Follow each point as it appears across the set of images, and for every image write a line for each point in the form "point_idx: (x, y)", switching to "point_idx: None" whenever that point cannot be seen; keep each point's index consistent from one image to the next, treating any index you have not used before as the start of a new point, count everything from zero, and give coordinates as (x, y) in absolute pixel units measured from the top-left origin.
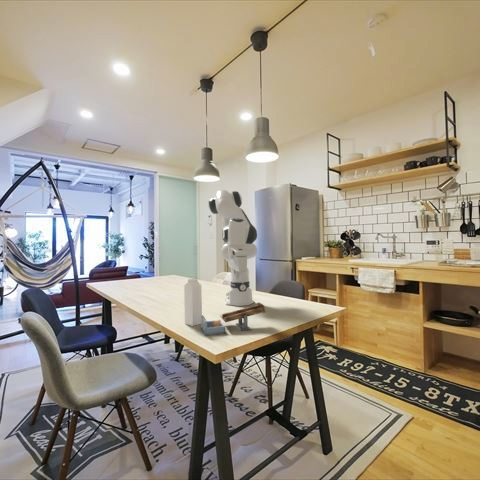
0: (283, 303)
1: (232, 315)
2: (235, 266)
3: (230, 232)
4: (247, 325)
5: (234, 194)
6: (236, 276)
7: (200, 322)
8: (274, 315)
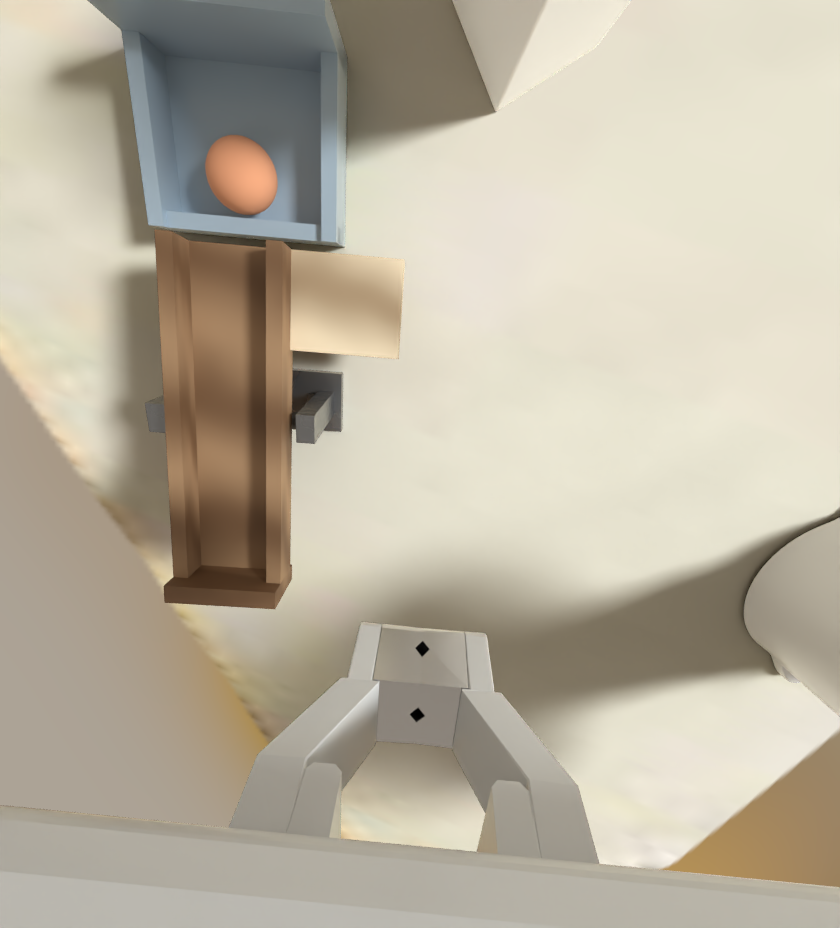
0: (635, 780)
1: (168, 311)
2: None
3: None
4: None
5: None
6: (350, 671)
7: (489, 88)
8: None
